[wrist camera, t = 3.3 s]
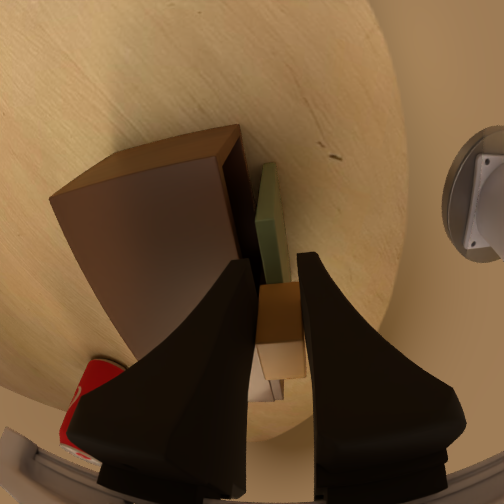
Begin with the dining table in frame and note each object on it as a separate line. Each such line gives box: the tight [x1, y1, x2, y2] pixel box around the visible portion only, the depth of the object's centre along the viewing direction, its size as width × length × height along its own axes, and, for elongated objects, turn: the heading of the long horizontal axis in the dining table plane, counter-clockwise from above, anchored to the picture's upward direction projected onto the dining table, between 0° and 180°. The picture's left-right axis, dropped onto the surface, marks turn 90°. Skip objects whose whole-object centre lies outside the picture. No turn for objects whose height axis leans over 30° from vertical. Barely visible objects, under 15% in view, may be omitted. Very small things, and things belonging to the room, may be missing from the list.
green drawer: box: [255, 162, 306, 380], centre depth 14 cm, size 2×8×10 cm, turn 10°
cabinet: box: [49, 124, 284, 402], centre depth 17 cm, size 9×16×7 cm, turn 10°
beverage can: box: [59, 359, 126, 466], centre depth 26 cm, size 6×6×12 cm
